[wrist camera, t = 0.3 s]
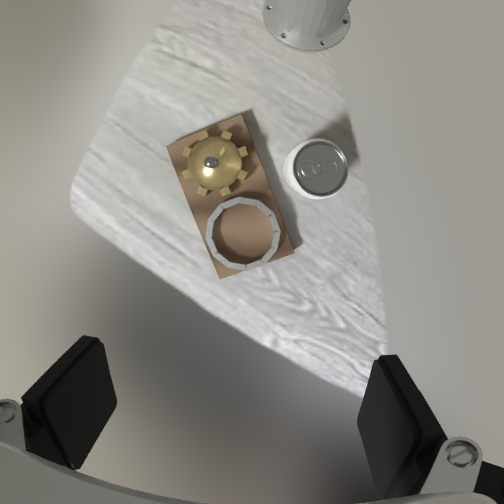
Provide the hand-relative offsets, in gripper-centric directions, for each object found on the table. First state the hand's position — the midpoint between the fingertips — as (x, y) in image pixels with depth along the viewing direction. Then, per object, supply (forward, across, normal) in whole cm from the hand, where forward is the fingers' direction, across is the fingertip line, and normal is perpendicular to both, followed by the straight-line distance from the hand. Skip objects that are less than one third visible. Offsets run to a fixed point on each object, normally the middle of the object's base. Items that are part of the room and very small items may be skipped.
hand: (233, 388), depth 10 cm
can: (+35, -6, -8) cm, 36 cm away
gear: (+33, +6, -8) cm, 35 cm away
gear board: (+35, +4, -3) cm, 35 cm away
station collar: (+33, +2, +1) cm, 33 cm away
